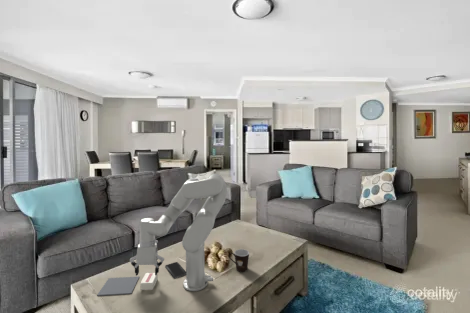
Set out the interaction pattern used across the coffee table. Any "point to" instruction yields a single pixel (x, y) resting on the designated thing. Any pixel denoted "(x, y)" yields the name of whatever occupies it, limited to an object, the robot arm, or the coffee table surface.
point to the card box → (148, 281)
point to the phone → (175, 270)
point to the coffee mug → (241, 259)
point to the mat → (118, 286)
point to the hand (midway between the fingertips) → (146, 274)
